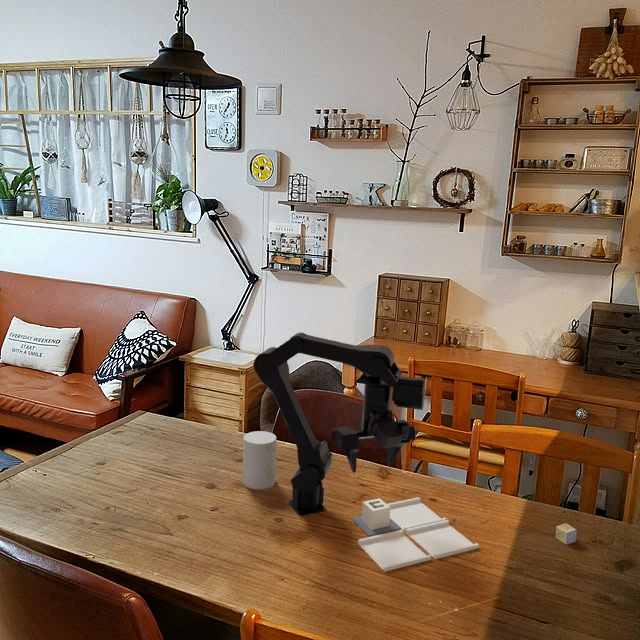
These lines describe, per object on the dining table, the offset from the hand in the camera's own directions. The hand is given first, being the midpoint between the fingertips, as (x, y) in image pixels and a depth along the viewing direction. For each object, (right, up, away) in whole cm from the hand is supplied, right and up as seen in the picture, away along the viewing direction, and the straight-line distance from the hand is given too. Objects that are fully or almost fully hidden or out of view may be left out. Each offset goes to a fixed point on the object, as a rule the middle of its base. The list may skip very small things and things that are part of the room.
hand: (371, 469), depth 145 cm
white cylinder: (-27, -8, +18) cm, 33 cm away
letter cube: (+1, -12, -1) cm, 12 cm away
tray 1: (+10, -12, +4) cm, 16 cm away
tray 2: (+4, -15, -11) cm, 19 cm away
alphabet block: (+42, -15, -4) cm, 45 cm away
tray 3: (+14, -14, -6) cm, 21 cm away
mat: (+1, -12, -1) cm, 12 cm away
